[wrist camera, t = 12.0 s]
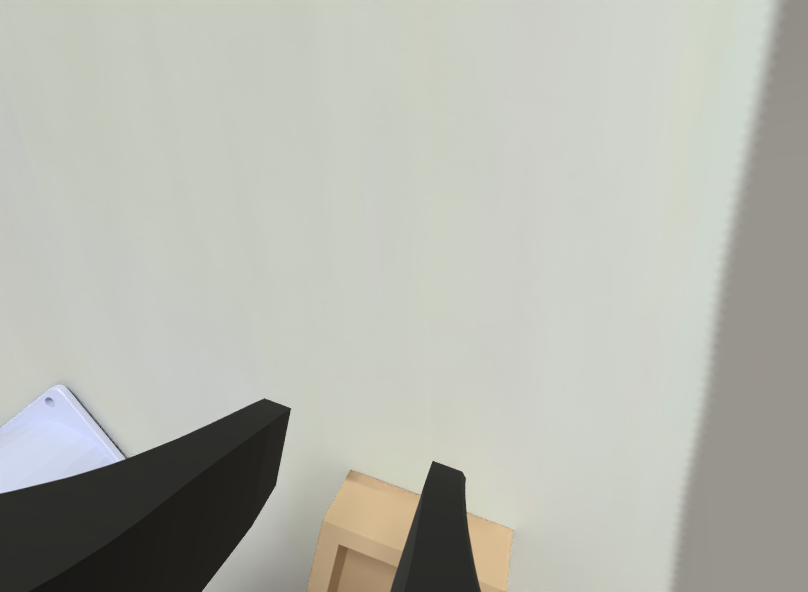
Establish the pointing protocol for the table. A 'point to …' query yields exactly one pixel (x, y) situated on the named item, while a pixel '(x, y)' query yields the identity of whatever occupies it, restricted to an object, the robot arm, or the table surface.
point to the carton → (389, 540)
